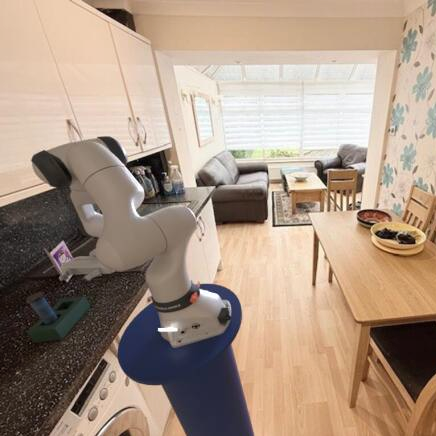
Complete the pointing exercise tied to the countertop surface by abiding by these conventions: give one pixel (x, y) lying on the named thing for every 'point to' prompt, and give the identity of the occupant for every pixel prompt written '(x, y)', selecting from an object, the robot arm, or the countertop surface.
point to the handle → (42, 308)
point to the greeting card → (60, 257)
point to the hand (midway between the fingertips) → (73, 279)
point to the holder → (60, 320)
